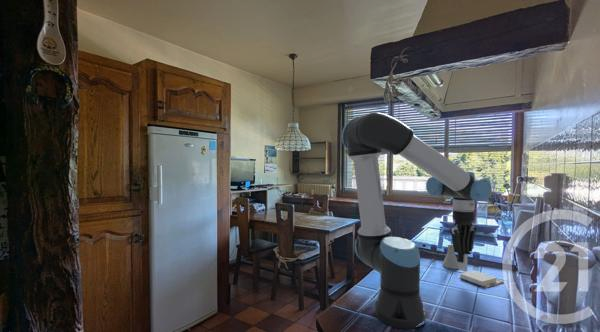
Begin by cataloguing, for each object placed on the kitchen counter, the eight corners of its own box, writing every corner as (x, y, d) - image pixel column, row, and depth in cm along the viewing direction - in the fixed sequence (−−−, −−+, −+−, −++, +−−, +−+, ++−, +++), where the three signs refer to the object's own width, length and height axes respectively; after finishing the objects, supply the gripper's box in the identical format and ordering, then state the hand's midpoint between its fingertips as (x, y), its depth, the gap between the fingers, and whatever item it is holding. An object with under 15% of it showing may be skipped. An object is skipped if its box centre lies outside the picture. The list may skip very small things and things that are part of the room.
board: (486, 287, 111) (486, 286, 111) (459, 277, 121) (459, 276, 121) (503, 283, 116) (503, 281, 116) (476, 273, 126) (476, 272, 126)
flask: (463, 269, 130) (463, 247, 130) (447, 269, 131) (447, 247, 131) (454, 264, 138) (455, 243, 138) (439, 264, 138) (439, 243, 138)
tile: (482, 281, 112) (496, 277, 115) (460, 273, 120) (474, 270, 124) (482, 285, 112) (496, 281, 115) (460, 277, 120) (474, 274, 124)
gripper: (461, 212, 108) (460, 275, 108) (483, 210, 113) (482, 270, 113) (443, 209, 114) (443, 269, 114) (465, 208, 120) (464, 264, 120)
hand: (462, 270), depth 114 cm, fingers closed
